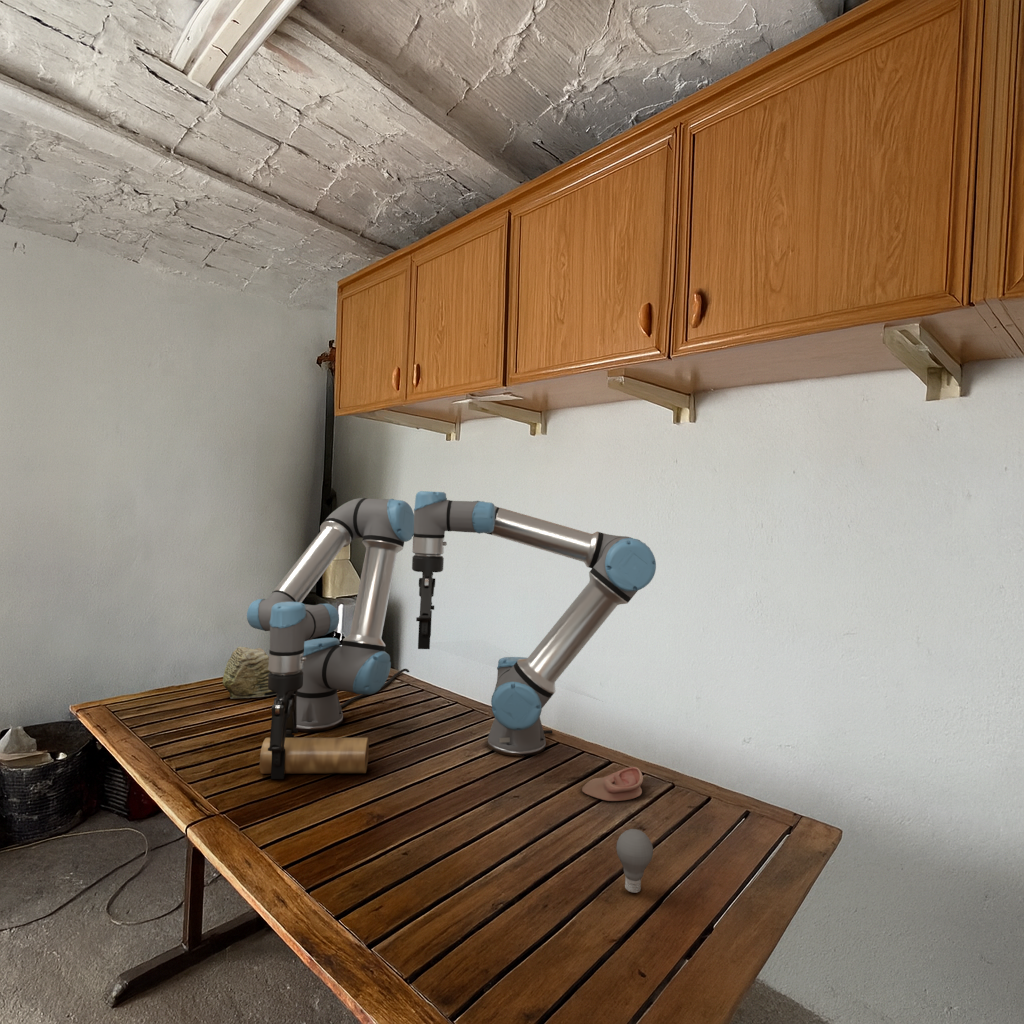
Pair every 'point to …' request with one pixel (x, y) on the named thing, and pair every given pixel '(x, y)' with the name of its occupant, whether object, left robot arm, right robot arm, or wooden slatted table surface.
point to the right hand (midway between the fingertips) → (424, 642)
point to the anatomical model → (616, 785)
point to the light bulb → (634, 857)
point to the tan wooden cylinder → (319, 755)
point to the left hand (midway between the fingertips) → (282, 770)
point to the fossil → (247, 674)
